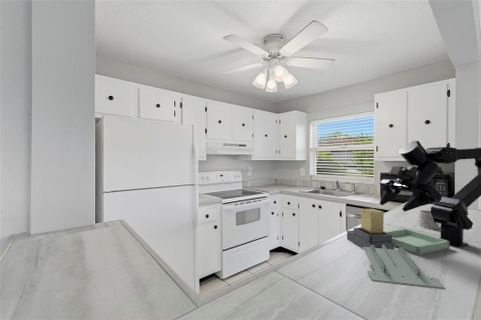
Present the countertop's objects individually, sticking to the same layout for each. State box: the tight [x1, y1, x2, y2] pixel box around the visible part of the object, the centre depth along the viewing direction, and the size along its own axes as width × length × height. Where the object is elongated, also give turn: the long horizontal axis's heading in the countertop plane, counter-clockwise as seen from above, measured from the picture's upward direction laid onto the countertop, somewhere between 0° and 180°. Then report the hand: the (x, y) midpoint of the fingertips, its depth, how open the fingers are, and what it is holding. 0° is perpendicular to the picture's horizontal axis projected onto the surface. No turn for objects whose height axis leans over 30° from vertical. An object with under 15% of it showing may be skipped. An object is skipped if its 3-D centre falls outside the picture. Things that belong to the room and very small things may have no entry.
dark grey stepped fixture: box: [346, 227, 395, 250], centre depth 72 cm, size 8×12×5 cm
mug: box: [418, 209, 440, 230], centre depth 94 cm, size 10×7×7 cm
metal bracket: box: [362, 245, 446, 291], centre depth 55 cm, size 14×6×15 cm
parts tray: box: [384, 228, 451, 257], centre depth 73 cm, size 16×14×2 cm
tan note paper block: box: [360, 208, 385, 235], centre depth 71 cm, size 4×4×9 cm
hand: (391, 207), depth 72 cm, fingers open, 9 cm apart
